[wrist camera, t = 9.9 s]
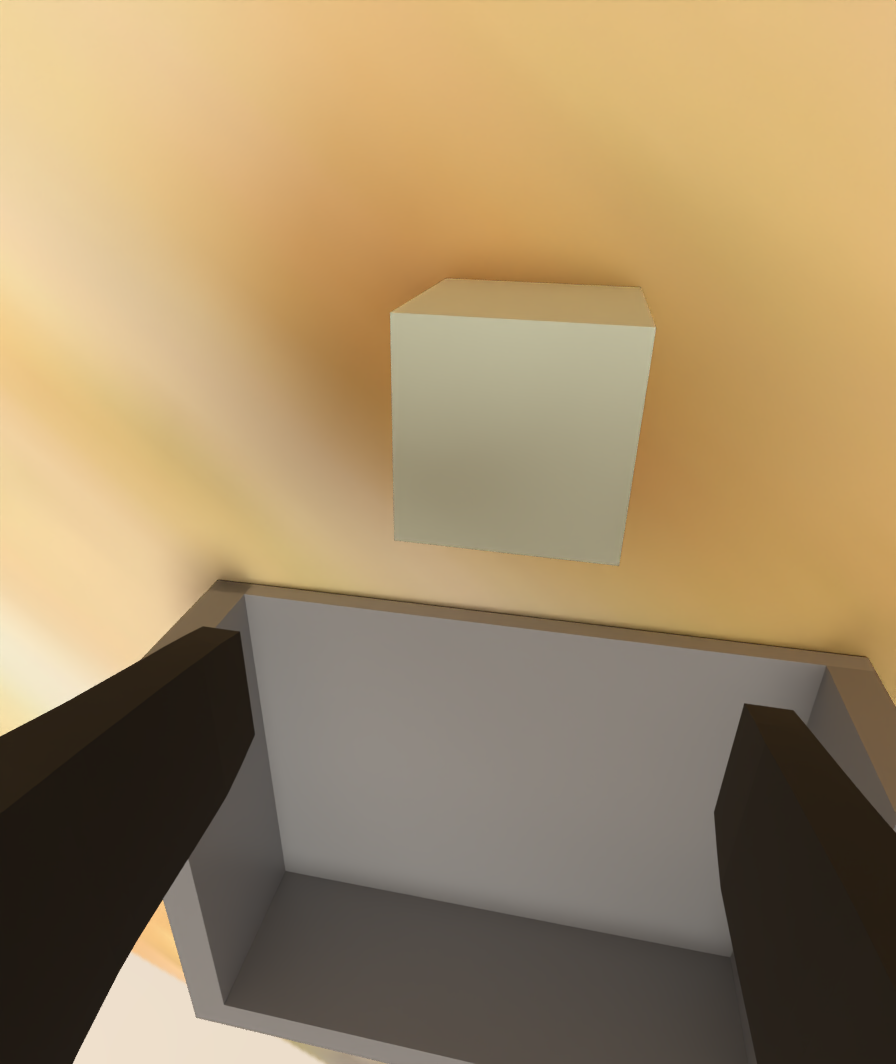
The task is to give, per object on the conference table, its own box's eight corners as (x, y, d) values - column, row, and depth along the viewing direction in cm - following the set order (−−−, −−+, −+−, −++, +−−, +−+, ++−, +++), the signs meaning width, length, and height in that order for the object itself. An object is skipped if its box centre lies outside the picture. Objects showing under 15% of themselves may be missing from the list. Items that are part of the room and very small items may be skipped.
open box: (867, 657, 18) (964, 829, 14) (755, 967, 25) (794, 1160, 20) (217, 579, 22) (105, 695, 17) (266, 872, 28) (196, 1017, 23)
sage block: (640, 287, 16) (656, 326, 11) (614, 470, 18) (618, 566, 13) (446, 277, 16) (390, 312, 12) (443, 455, 18) (394, 540, 14)
